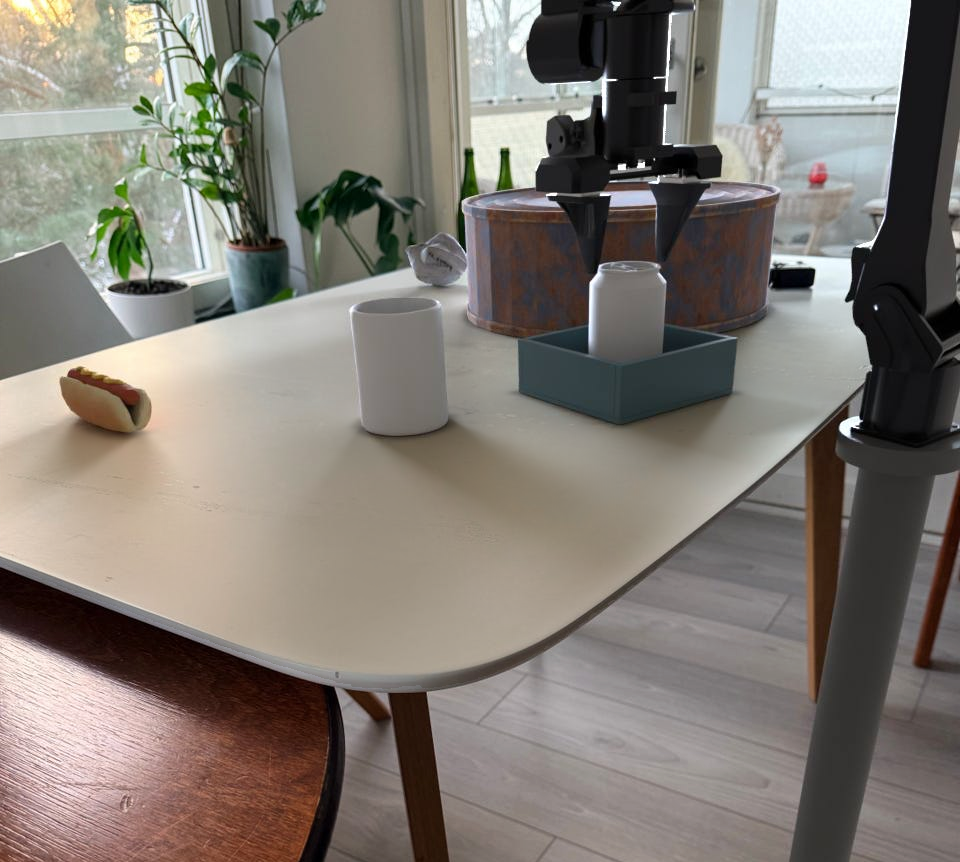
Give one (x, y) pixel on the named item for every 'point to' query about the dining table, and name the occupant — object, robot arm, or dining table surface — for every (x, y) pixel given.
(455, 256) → the crumpled paper ball
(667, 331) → the box
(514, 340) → the dining table surface
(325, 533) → the dining table surface
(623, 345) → the can
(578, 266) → the container
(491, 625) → the dining table surface
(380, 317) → the mug
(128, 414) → the food
